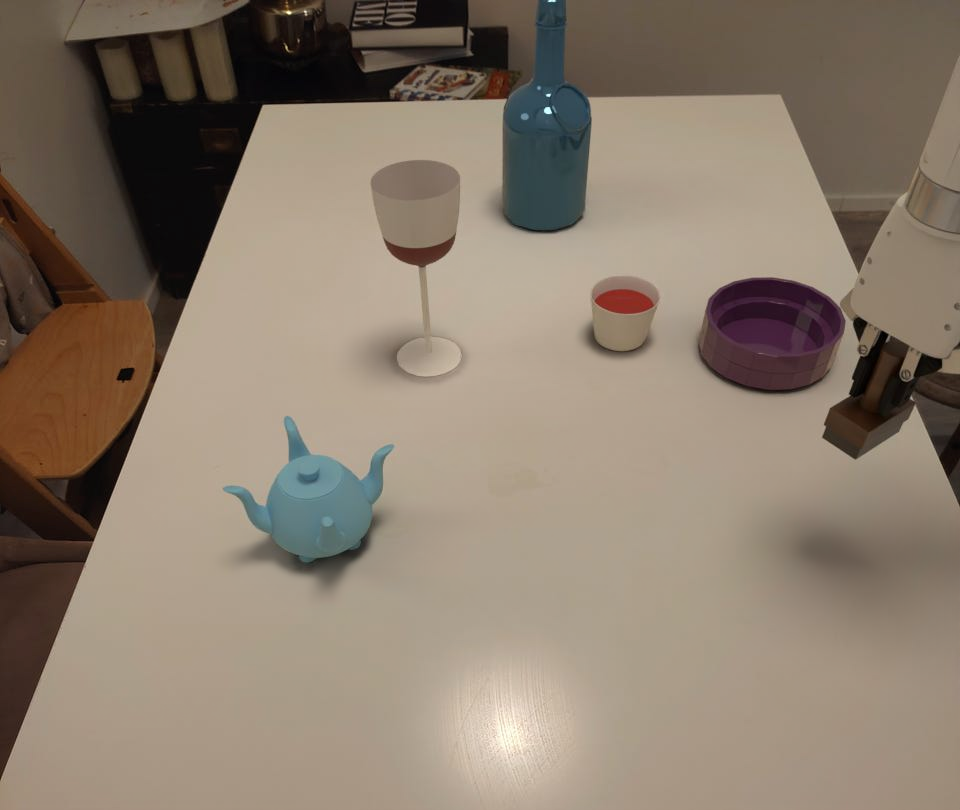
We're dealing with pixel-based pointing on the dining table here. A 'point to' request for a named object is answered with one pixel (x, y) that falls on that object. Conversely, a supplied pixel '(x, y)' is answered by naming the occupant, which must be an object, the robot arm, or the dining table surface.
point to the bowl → (771, 333)
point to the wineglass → (420, 242)
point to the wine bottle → (546, 135)
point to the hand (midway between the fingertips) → (876, 397)
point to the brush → (869, 409)
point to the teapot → (316, 501)
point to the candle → (623, 311)
